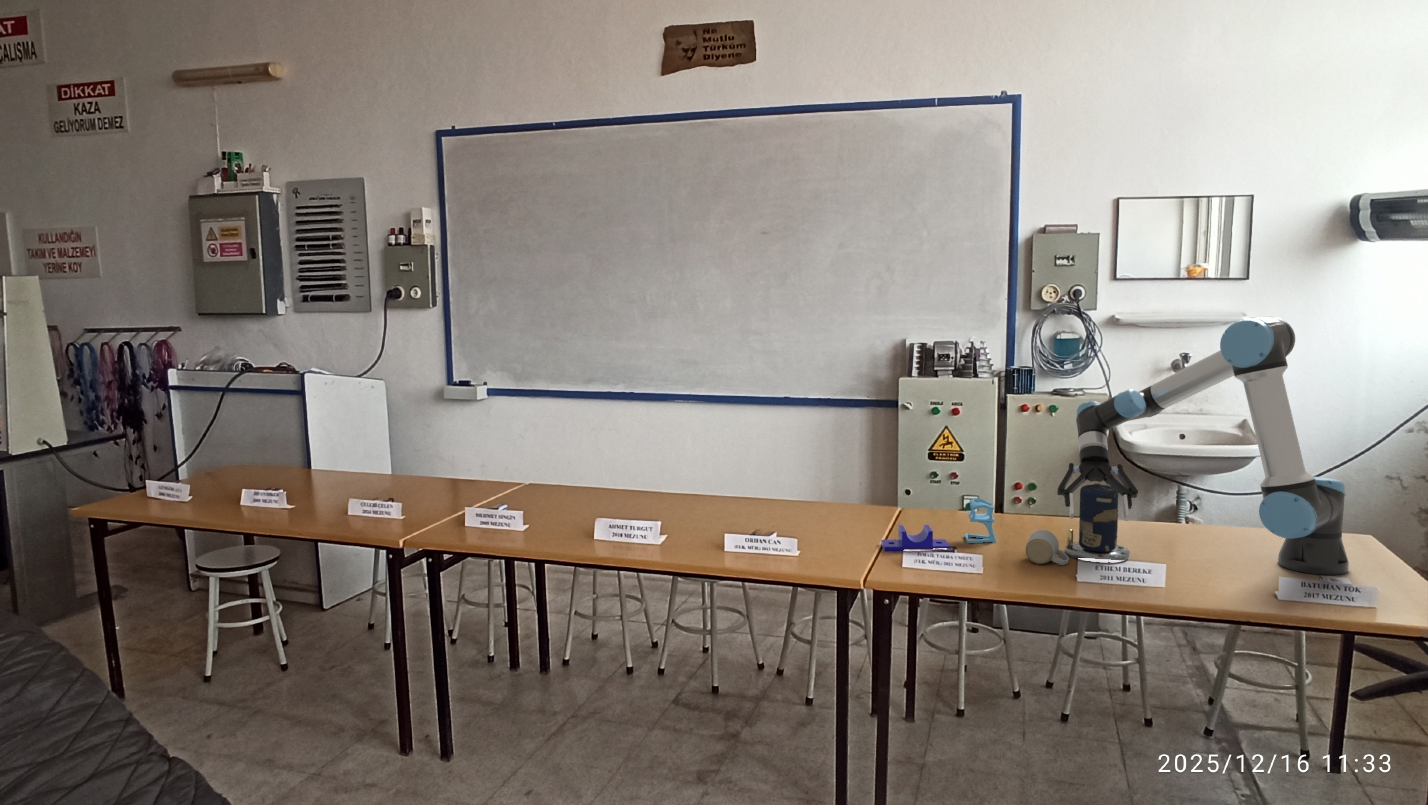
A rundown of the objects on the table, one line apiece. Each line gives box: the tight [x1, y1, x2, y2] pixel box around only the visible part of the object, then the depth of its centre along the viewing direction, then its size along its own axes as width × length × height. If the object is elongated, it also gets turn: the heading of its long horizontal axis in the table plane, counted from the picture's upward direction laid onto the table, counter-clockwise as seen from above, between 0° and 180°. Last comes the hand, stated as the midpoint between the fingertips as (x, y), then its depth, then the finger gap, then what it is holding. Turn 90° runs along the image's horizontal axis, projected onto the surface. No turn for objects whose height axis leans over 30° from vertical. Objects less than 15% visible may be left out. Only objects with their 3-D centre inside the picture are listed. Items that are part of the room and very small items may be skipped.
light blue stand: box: [964, 498, 997, 544], centre depth 271 cm, size 8×8×12 cm
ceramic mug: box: [1025, 529, 1070, 566], centre depth 250 cm, size 11×8×8 cm
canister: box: [1078, 483, 1119, 552], centre depth 254 cm, size 10×10×18 cm
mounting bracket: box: [880, 524, 951, 553], centre depth 266 cm, size 18×7×6 cm, turn 87°
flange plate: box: [1064, 528, 1131, 561], centre depth 255 cm, size 16×16×6 cm
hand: (1099, 517), depth 252 cm, fingers open, 13 cm apart
